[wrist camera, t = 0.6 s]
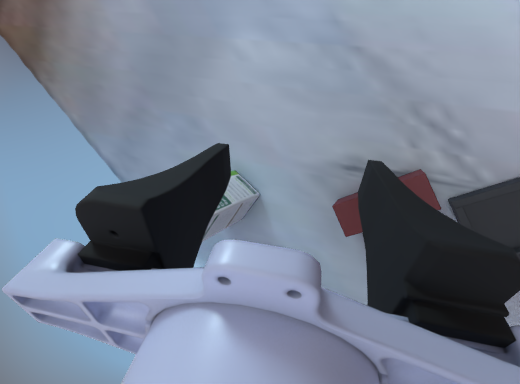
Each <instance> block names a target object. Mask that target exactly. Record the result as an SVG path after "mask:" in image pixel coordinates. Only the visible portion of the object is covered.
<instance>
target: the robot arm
mask: <svg viewBox="0 0 520 384" xmlns="http://www.w3.org/2000/svg"><path fill="white" fill-rule="evenodd" d="M230 178H231V167H230V154H229V144H220V143H218V144H215V145H213V146H212V147H210V148H208V149H207V150H205V151H203V152H201V153H200V154H198V155H196V156H195V157H193V158H191V159H189V160H187V161H185V162H183V163H181V164H179V165H177V166H175V167H173V168H170V169H168V170H165V171H163V172H160V173H157V174H154V175H151V176H148V177H145V178H141V179H137V180H133V181H128V182H123V183H118V184H112V185H105V186H98V187H96V188H95V189H94V190H93V191H92V192H90V193H89V194H88V195H87V196H86V197H85V198H84V199H82V200H81V201H80V202H79V203H78V204H77V206H76V208H75V210H76V216H77V218H78V221H79V222H80V224H81V226H82V227H83V229H84V230H85V232H86V234H87V235H88V237H89V239H90V240H91V241H90V242H89V243H88V244H87V245H86V246H84V245H82V244H81V243H78V242H74V241H68V240H63V239H54V241H52V242H51V243H50V244H49V245H48V246H47V247H46V248H45V249H44V250H42V251H41V252H40V254H38V255H37V256H36V257H35V258H34V259H33V260H32V261H31V262H30V263H29V264H27V265H26V266H25V268H23V269H22V270H21V271H20V272H19V273H18V274H17V275H16V276H15V277H14V278H13V279H11V280H10V281H9V282H8V283H7V284H6V285H5V286H4V287H3V288H2V291H3V292H4V293H5V294H7V295H8V296H9V297H10V298H11V299H12V300H13V301H15V302H16V303H17V304H18V305H20V307H21V308H23V309H24V310H25V311H26V312H27V313H28V314H30V315H31V316H32V317H33V318H34V319H35V320H36V321H38V322H40V323H44V324H48V325H51V326H55V327H59V328H62V329H66V330H69V331H72V332H75V333H78V334H81V335H84V336H87V337H90V338H93V339H96V340H98V341H101V342H104V343H106V344H109V345H112V346H115V347H118V348H120V349H123V350H126V351H129V352H131V353H134V354H136V356H135V358H134V360H133V362H132V364H131V365H130V367H129V369H128V371H127V373H126V375H125V377H124V379H123V381H122V383H121V384H520V326H511V327H509V325H508V323H507V322H506V320H505V318H504V317H507V316H508V315H509V312H508V310H507V308H506V306H505V305H504V303H505V302H506V301H508V300H509V299H510V298H511V297H512V296H514V295H515V294H516V293H517V292H518V291H520V258H519V257H518V255H517V254H516V252H515V251H514V249H513V248H511V247H509V246H506V245H504V244H502V243H499V242H497V241H495V240H492V239H490V238H487V237H485V236H483V235H481V234H479V233H477V232H475V231H473V230H471V229H469V228H467V227H465V226H463V225H461V224H459V223H457V222H456V221H454V220H452V219H451V218H449V217H447V216H445V215H444V214H442V213H441V212H439V211H438V210H436V209H435V208H433V207H432V206H430V205H429V204H428V203H426V202H425V201H424V200H422V199H421V198H420V197H418V196H417V195H416V194H415V193H414V192H413V191H411V190H410V189H409V188H408V187H407V186H406V185H405V184H404V183H403V182H402V181H401V180H400V179H399V178H398V177H397V176H396V175H395V174H394V173H393V172H392V171H391V170H390V169H389V168H388V167H387V166H386V165H385V164H384V163H383V162H381V161H373V160H368V163H367V166H366V169H365V172H364V175H363V178H362V181H361V184H360V188H359V191H358V209H359V215H360V221H361V226H362V231H363V237H364V242H365V249H366V263H367V288H368V306H367V305H364V304H362V303H359V302H357V301H355V300H352V299H350V298H347V297H345V296H342V295H340V294H337V293H335V292H332V291H330V290H327V289H325V288H323V287H321V267H320V263H319V262H318V261H317V260H316V259H315V258H314V257H313V256H311V255H310V254H308V253H305V252H302V251H299V250H296V249H290V248H284V247H278V246H272V245H266V244H261V243H255V242H249V241H243V240H237V239H236V240H222V241H220V242H218V243H216V244H215V245H214V246H213V249H212V251H211V253H210V256H209V258H208V260H207V262H206V265H205V267H200V268H193V266H194V263H195V260H196V257H197V254H198V251H199V248H200V245H201V243H202V240H203V237H204V235H205V232H206V229H207V227H208V224H209V222H210V220H211V218H212V216H213V214H214V212H215V211H216V209H217V207H218V205H219V203H220V201H221V199H222V197H223V195H224V193H225V191H226V189H227V186H228V184H229V181H230Z"/></svg>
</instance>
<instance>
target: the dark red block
mask: <svg viewBox="0 0 520 384" xmlns="http://www.w3.org/2000/svg"><path fill="white" fill-rule="evenodd" d="M398 178H399V179H400V180H401V181H402V182H403V183H404V184H405V185H406V186H407V187H408V188H409V189H410V190H411V191H413V192H414V193H415V194H416V195H417V196H418V197H420V198H421V199H422V200H424V201H425V202H426V203H428V204H429V205H430V206H432V207H433V208H435V209H436V210H440V209H441V207H440V205H439V203H438V201H437V198H436V196H435V194H434V192H433V189H432V187H431V185H430V183H429V181H428V178H427V176H426V174H425V173H424V172H423V171H422V170H421V169H420V170H417V171H414V172H412V173H409V174H406V175H403V176H401V177H398ZM332 207H333V209H334V211H335V213H336V216H337V218H338V220H339V223H340V225H341V227H342V229H343V232H344V234H345V236H346V237H348V236H351V235H355V234H358V233H361V232H363V231H362V226H361V221H360V215H359V209H358V192H357V193H354V194H352V195H349V196H346V197H344V198H341V199H338V200H337V201H336V203H335V204H334V205H333V206H332Z"/></svg>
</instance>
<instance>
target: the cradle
mask: <svg viewBox="0 0 520 384" xmlns="http://www.w3.org/2000/svg"><path fill="white" fill-rule="evenodd" d="M448 201H449V203H450V205H451V207H452V210H453V212H454V214H455V216H456V218H457V221H458V223H459V224H461V225H463V226H465V227H467V228H469V229H471V230H473V231H475V232H477V233H479V234H481V235H483V236H485V237H487V238H490V239H492V240H495V241H497V242H499V243H502V244H504V245H506V246H509V247H511V248H513V249H514V251H515V252H516V254H517V255H518V257H519V258H520V177H519V178H516V179H512V180H509V181H506V182H503V183H499V184H496V185H493V186H489V187H486V188H483V189H480V190H476V191H473V192H470V193H466V194H463V195H460V196H457V197H453V198H450V199H448Z"/></svg>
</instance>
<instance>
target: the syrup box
mask: <svg viewBox="0 0 520 384" xmlns="http://www.w3.org/2000/svg"><path fill="white" fill-rule="evenodd" d="M259 195H260V193H259V192H257V191H256V190H255V189H254V188H253V187H252V186H251V185H250V184H249V183H248V182H247V181H246V180H245V179H244V178H242V177H241V176H240V175H239V174H238V173H237V172H236V171H231V178H230V181H229V184H228V186H227V189H226V191H225V193H224V195H223V197H222V199H221V201H220V203H219V205H218V207H217V209H216V211H215V212H214V214H213V216H212V218H211V220H210V222H209V224H208V227H207V229H206V232H205V235H204V237H203V240H202V241H204V240H206V239H208V238H209V237H211V236H213V235H215V234H216V233H218V232H220V231H222V230H224V229H225V228H227V227H229V226H231V225H232V224H234V223H236V222H238V221H240V220H241V219H242V218H243V217H244V216H245V214H246V213H247V212H248V210H249V209H250V207H251V206H252V205H253V203H254V202H255V201H256V199H257V198H258V197H259Z"/></svg>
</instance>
